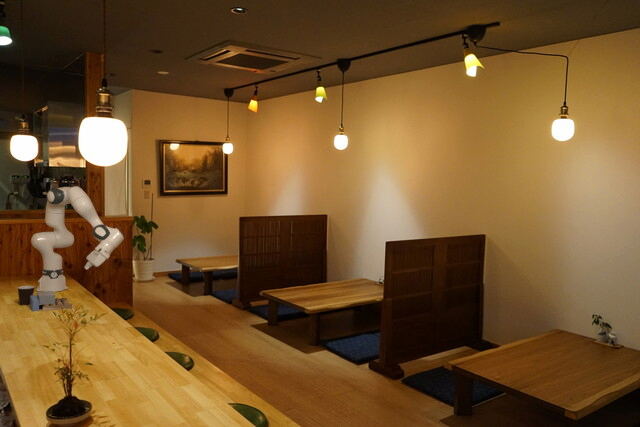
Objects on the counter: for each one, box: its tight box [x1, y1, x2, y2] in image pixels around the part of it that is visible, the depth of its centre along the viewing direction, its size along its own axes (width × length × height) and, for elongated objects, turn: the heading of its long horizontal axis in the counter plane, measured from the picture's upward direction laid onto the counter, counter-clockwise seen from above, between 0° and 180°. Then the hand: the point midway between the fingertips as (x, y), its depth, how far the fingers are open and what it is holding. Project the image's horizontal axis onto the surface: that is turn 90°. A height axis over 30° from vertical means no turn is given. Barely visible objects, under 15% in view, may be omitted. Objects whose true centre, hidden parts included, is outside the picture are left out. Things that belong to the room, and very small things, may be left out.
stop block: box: [29, 294, 40, 312], centre depth 287 cm, size 14×3×6 cm, turn 36°
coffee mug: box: [17, 285, 35, 306], centre depth 297 cm, size 12×9×10 cm
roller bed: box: [41, 297, 73, 312], centre depth 294 cm, size 18×15×3 cm
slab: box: [36, 291, 56, 306], centre depth 291 cm, size 12×8×5 cm, turn 36°
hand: (85, 268), depth 303 cm, fingers closed
